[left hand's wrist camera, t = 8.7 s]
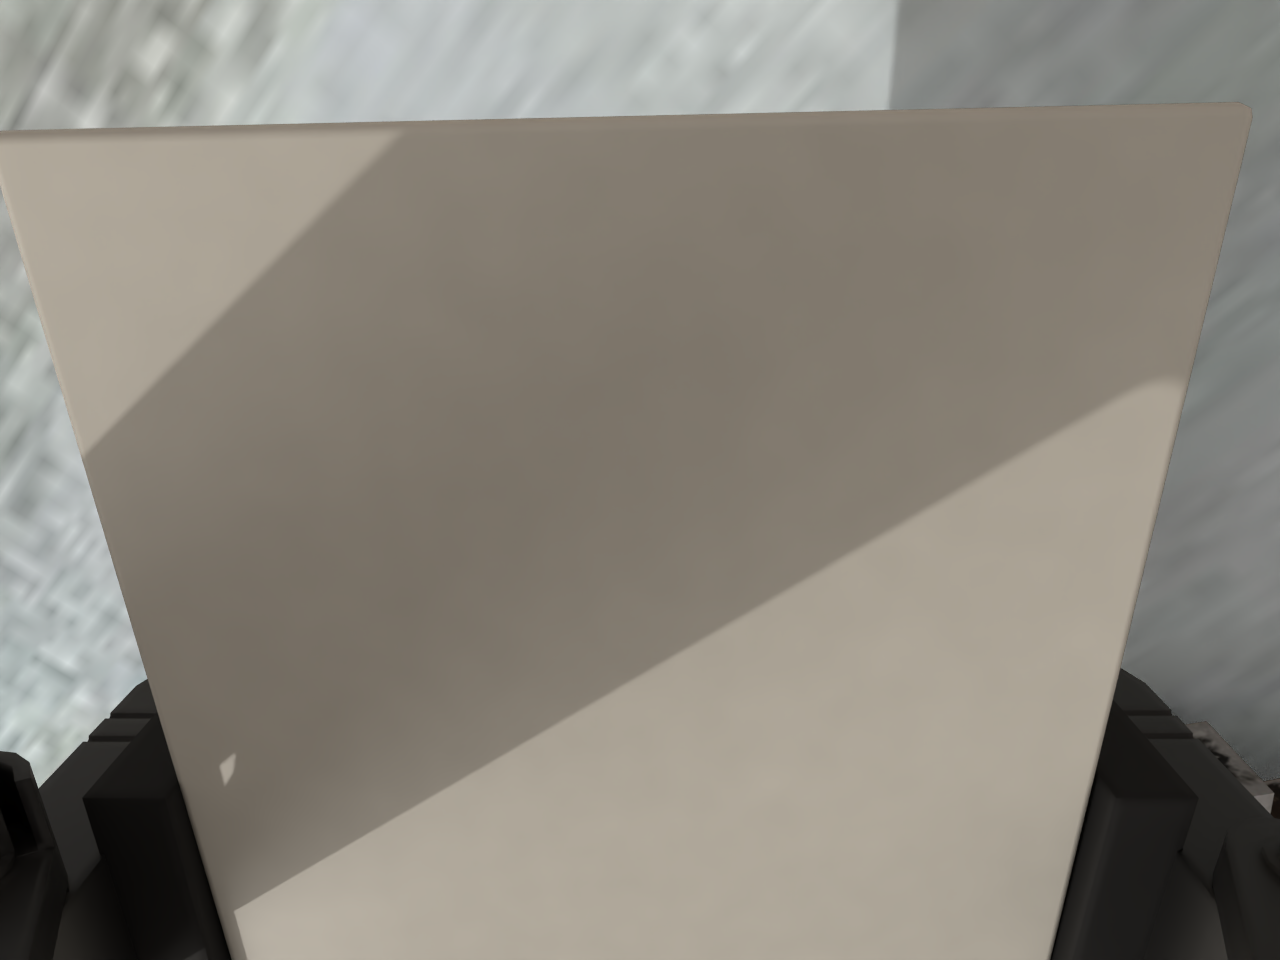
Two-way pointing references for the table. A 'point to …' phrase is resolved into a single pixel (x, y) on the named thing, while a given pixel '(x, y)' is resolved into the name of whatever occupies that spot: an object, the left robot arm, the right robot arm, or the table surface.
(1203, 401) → the table surface
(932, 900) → the wide beam
